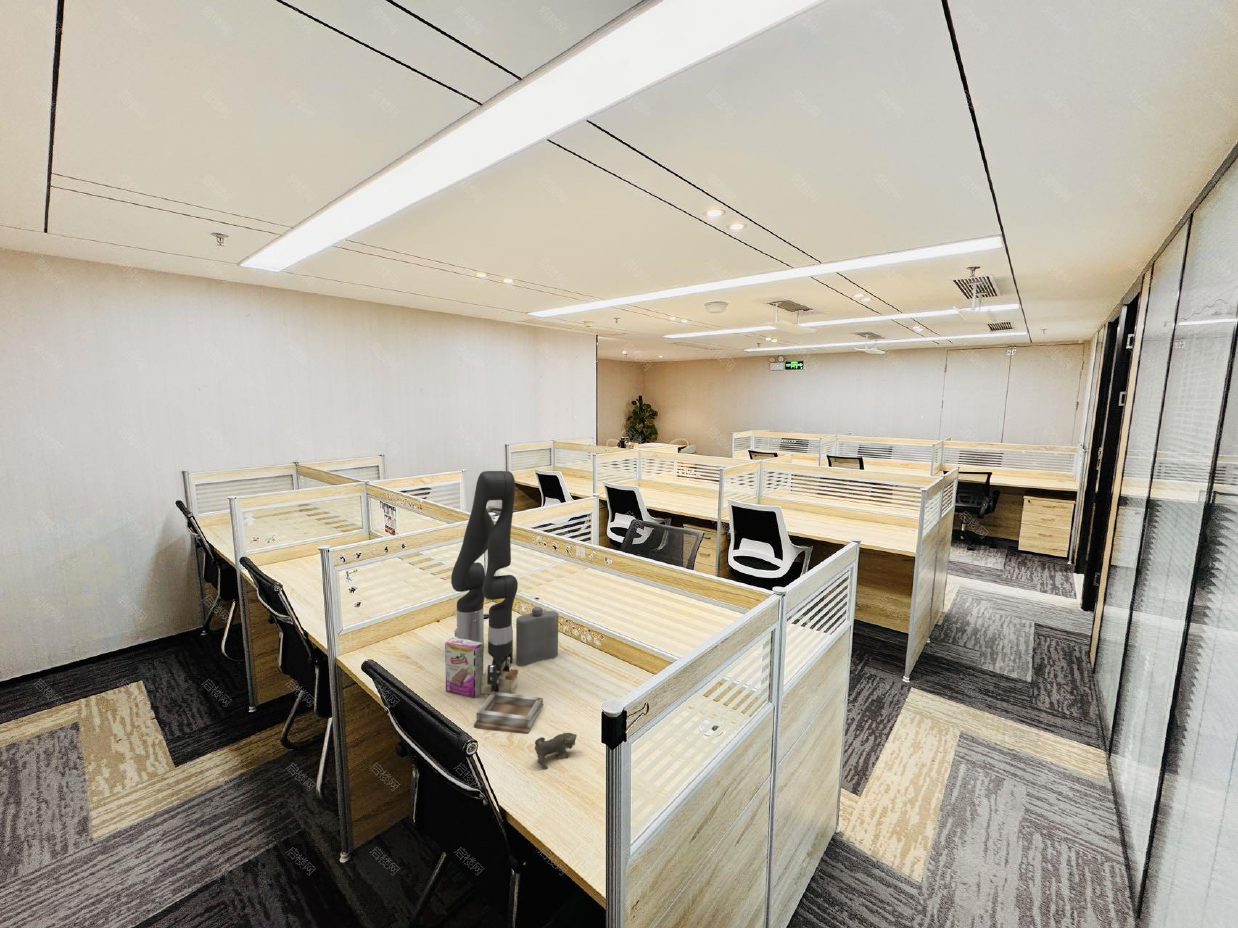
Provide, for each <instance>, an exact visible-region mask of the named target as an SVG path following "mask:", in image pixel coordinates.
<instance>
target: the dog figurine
mask: <svg viewBox="0 0 1238 928" xmlns="http://www.w3.org/2000/svg"><path fill="white" fill-rule="evenodd" d="M576 739H577V734H576V733H572V732H564V733H560V734H557V735H556V736H554V737H553V738H550V739H549V740H546V737H543V736H541V737H538V738H537V739H535V741H534V744H535V745H534V750H535V753H536V755H537V758H538V760H537V763H538V764H539V765H540V766H541V768H543V769H544V770H548V769H549V767H548V766H547V765H546V764H545V762H544V759H545V757H546V756H547V755H549V756H550V755H552V754H554V753H557V754H556V755H555V756H554V757H555V758H556V759H557V760H563V759H568V758H569V754H570V753H569V752H568V751H567V750H566V748H568V749H569V750H572V749H573V746H574V744H575V743H576Z"/></svg>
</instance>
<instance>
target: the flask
mask: <svg viewBox="0 0 1238 928" xmlns="http://www.w3.org/2000/svg"><path fill="white" fill-rule="evenodd" d="M515 622H516V623H515V624H516V625H515V626H516V627H515V628H516V630H515V631H516V632H515V633H516V634H515V639H516V641H515V642H516V643H515V645H516V646H515V649H516V651H515V653H516V654H515V655H516V656H515V658H516V659H515V662H516V666H518V667H526V666H529V665H532V664H535V663H537V662H541V661H546V660H552V659H556V658H557V657H558V656H559V613H558V612H557V611H555V610H545V611H544V610H543V608H542V607H541V606H534V607H532V609H531V613H526V614H522V615H520V616H518V617H517V618H516V621H515Z"/></svg>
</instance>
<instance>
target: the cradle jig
mask: <svg viewBox="0 0 1238 928" xmlns="http://www.w3.org/2000/svg"><path fill="white" fill-rule="evenodd" d="M543 707H544V698H543V697H538V696H529V695H523V694H517V693H516V694H515V693H513V694H509V693H501V692H492V693H491V694H489V695H488V697H487V698H486V700H484V702H483V703H482V704H481V706H480V708H479V709H478V710H477V711H476V717H475V718H476V719H475V720H476V721H475V722H474V723H473V728H475V729H476V728H477V729H482V730H490V731H497V732H508V733H517V734H526V735H529V733H530V731H531V729H532V727H533V726H534V723H535V722H536V720H537V718H538V716H539V714H540V713H541V710H542V708H543Z"/></svg>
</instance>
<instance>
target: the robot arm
mask: <svg viewBox="0 0 1238 928" xmlns="http://www.w3.org/2000/svg"><path fill="white" fill-rule="evenodd" d="M515 495H516V481H515V476H514V474H513V473H512V472H511V471H508V470H485V471H482V472H481V473H479V475H478V477H477V481H476V485H475V491H474V497H473V501H472V508H471V512H470V515H469V518H468V522H467V525H466V528H465V531H464V536H463V540H462V545H461V548H460V550H459V554H458V557H457V558H456V561H455V564H454V565H453V568H452V572H451V575H450V576H451V578H450V579H451V580H450V583H451V586H452V589H453V590H454V591H455V592H458V593H463V592H467V593H466V594H464V595H463V596H462V597H460V598H459V599H458V600H457V601H456V628H455V630H454V637H458V638H463V639H467V640H472V641H476V642H481V643H483V653H484V652H485V651H484V648H485V645H484V641H485V638H484V635H485V634H484V631H485V630H484V629H485V628H484V626H485V625H484V619H485V618H484V603H485V599H486V600H488V601H494V600H502V601H501V602H498V603H495V604H493V605H492V606H489V608H488V629H487V650H488V651H487V653H488V655H489V656H490V657H492V660H491V664H488V665H487V669H488V674H487V684H489V685H491V693H492V692H499V679H500V676H502V672H503V671H506V672H509V671H510V669H511V665H512V664H513V661H514V656H513V650H514V646H513V643H514V639H513V638H514V636H513V635H514V632H513V631H514V630H513V624H512V623H513V622H512V621H513V619H512V618H513V616H512V615H513V607H514V601H515V598H516V595H517V593H518V587H519V584H518V579H517V578H516V577H515V576H514V575H512V574H505V575H495V573H497V571H499V570H501V569H504V568H508V567H509V566H511V563H512V556H511V555H512V552H511V551H512V549H511V547H512V546H511V538H512V537H511V534H512V533H511V532H512V523H513V514H514V504H515ZM490 501H501V509H500V511H499V512H500V513H499V516H498V518H497V520H496V522H494V520H493V518H492V517H491V515H490V513H489V512H488V509H487V504H488V502H490ZM486 552H487V567H486V572H485V568H484V565H483V564H482V563H481V562H479V561H478V560H479V558H481V557H482V556H483V555H484V554H485V553H486ZM476 561H478V562H476ZM497 671H500V672H499V673H497ZM490 677H491V679H490Z"/></svg>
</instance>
